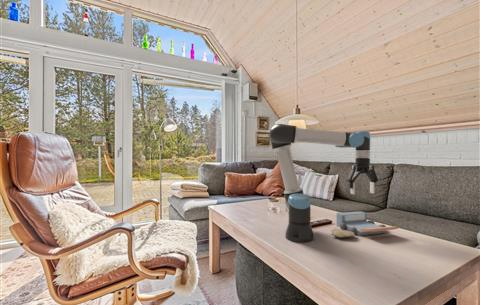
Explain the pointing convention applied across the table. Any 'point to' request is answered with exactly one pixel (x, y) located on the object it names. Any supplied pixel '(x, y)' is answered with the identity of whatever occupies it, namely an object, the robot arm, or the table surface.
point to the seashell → (342, 233)
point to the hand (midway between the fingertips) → (362, 193)
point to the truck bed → (356, 223)
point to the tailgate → (379, 229)
